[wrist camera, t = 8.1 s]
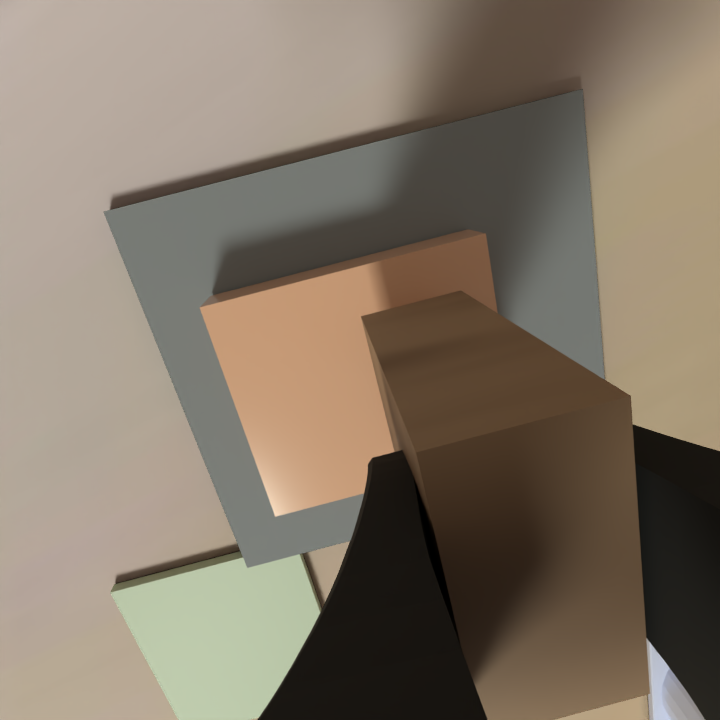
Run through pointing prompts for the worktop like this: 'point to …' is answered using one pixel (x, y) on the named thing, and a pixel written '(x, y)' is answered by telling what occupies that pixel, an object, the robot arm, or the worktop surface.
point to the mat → (357, 239)
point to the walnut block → (520, 504)
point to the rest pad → (221, 631)
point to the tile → (327, 360)
